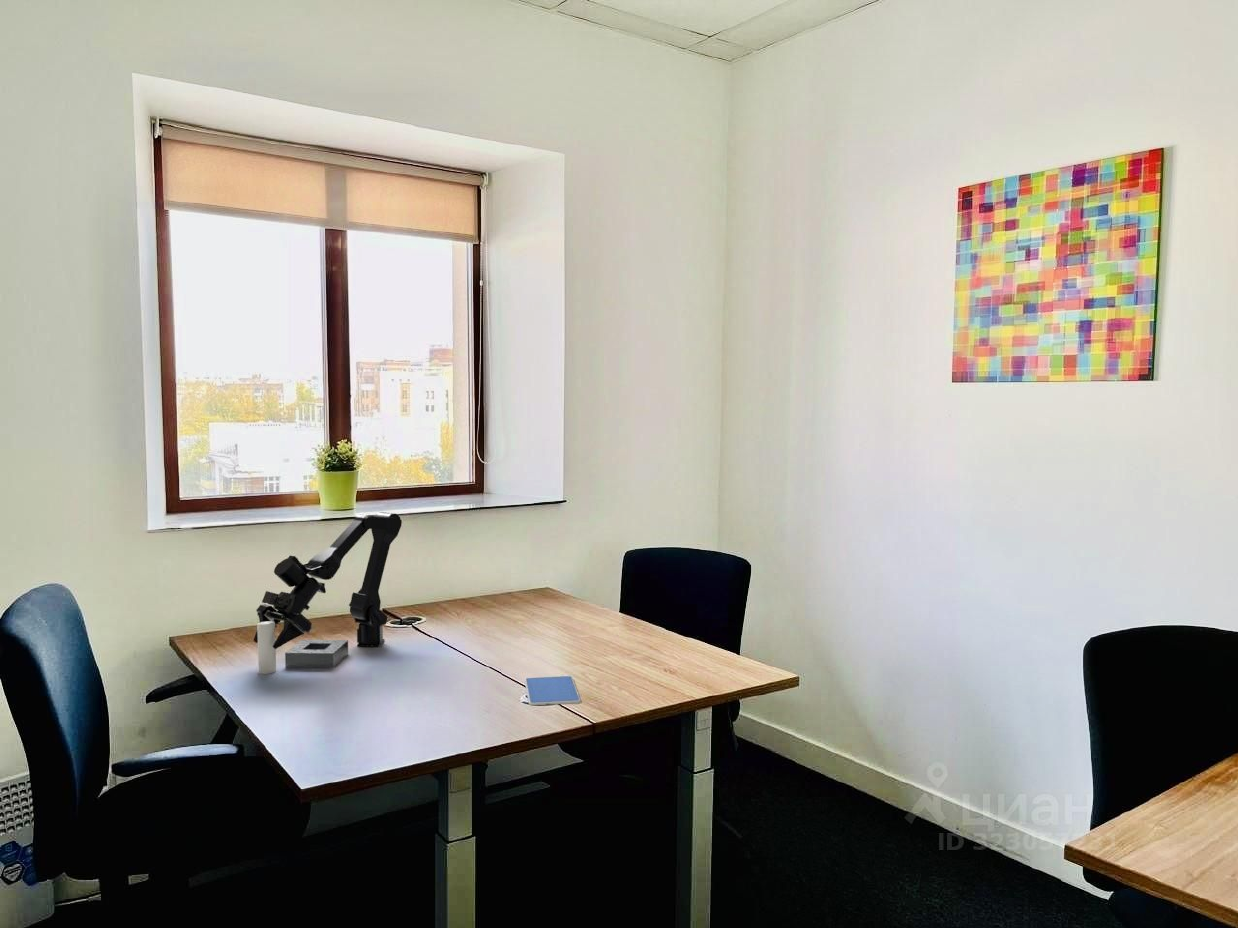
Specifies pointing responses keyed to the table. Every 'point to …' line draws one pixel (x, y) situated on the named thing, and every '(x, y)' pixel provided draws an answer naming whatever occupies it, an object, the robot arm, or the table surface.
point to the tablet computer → (551, 690)
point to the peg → (266, 647)
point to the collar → (316, 654)
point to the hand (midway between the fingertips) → (264, 644)
